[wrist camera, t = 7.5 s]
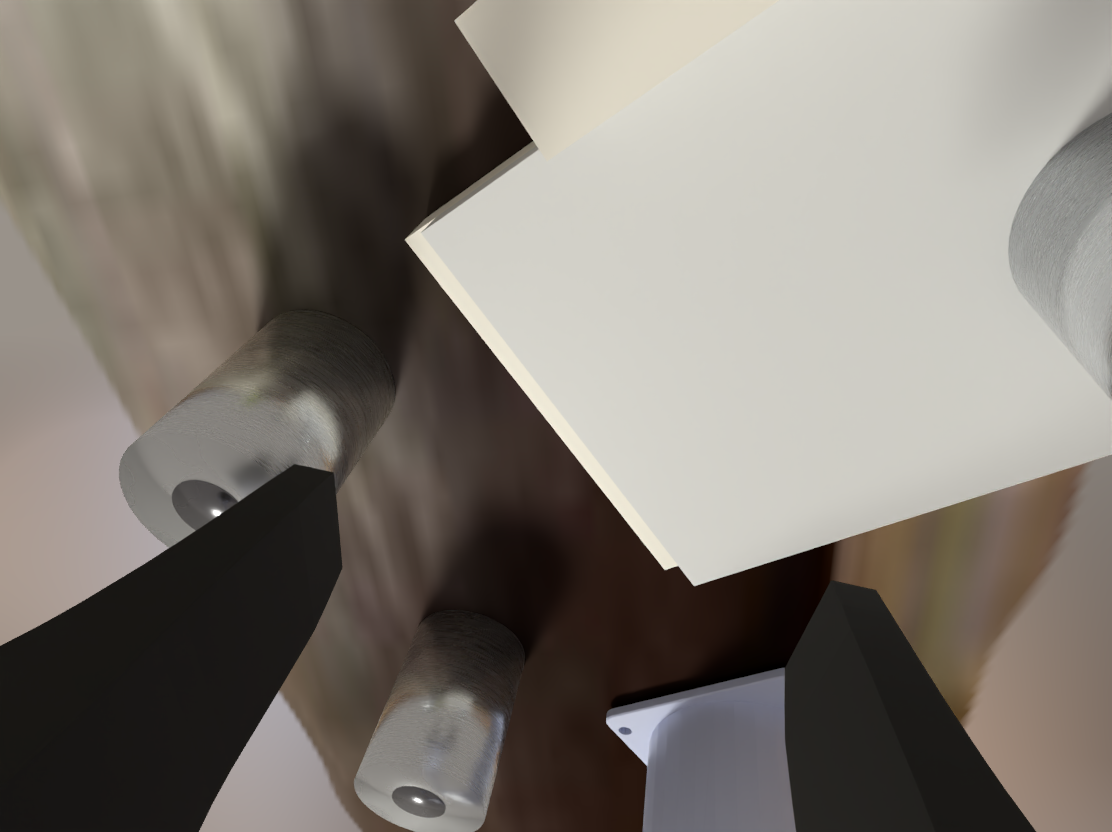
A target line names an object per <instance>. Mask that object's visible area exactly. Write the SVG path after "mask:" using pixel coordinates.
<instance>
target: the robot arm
mask: <svg viewBox="0 0 1112 832" xmlns="http://www.w3.org/2000/svg"><path fill="white" fill-rule="evenodd" d="M341 570H342V558H341V547H340V535H339V524H338V513H337V501H336V490H335V478H334V472H330V471H325V470H320V469H316V468H311V467H307V466H302V465H297V464H294V465H292V466H291V467H289V468H288V469H286V470H285V471H283V472H282V473H280V474H279V475H277V476H275V477H274V478H272V479H271V480H269V481H268V482H267V483H265V484H264V485H262V486H261V487H259V488H258V489H256V490H255V491H253V492H252V493H250V494H249V495H248V496H246V497H245V498H243V499H242V500H240V501H239V502H237V503H236V504H234V505H233V506H231V507H230V508H229V509H227V510H226V511H224V512H223V513H221V514H220V515H218V516H217V517H215V518H214V519H212V520H211V521H209V522H208V523H206V524H205V525H204V526H202V527H200V528H199V529H197V530H196V531H194V532H193V533H191V534H190V535H188V536H187V537H185V538H184V539H182V540H181V541H179V542H178V543H176V544H175V545H173V546H172V547H170V548H169V549H167V550H165V551H164V552H162V553H161V554H159V555H158V556H156V557H155V558H153V559H152V560H150V561H148V562H147V563H145V564H144V565H142V566H140V567H139V568H137V569H135V570H134V571H132V572H131V573H129V574H127V575H126V576H124V577H122V578H121V579H119V580H117V581H116V582H114V583H112V584H111V585H109V586H107V587H106V588H104V589H102V590H101V591H99V592H97V593H96V594H94V595H92V596H91V597H89V598H88V599H86V600H85V601H82V602H81V603H79V604H77V605H76V606H74V607H72V608H70V609H69V610H67V611H65V612H63V613H62V614H60V615H58V616H56V617H54V618H52V619H51V620H49V621H47V622H45V623H43V624H42V625H40V626H38V627H36V628H34V629H32V630H30V631H28V632H27V633H24V634H23V635H21V636H19V637H17V638H15V639H13V640H11V641H9V642H7V643H5V644H3V645H1V646H0V832H199V830H200V828H201V826H202V824H203V822H204V820H205V818H206V816H207V813H208V812H209V809H210V807H211V805H212V803H213V801H214V800H215V798H216V796H217V794H218V792H219V791H220V789H221V787H222V785H223V783H224V782H225V780H226V778H227V776H228V774H229V772H230V771H231V769H232V767H233V766H234V764H235V762H236V761H237V759H238V757H239V756H240V754H241V752H242V751H243V749H244V747H245V746H246V744H247V742H248V741H249V739H250V737H251V736H252V734H253V732H254V731H255V729H256V727H257V726H258V724H259V722H260V721H261V719H262V717H263V716H264V714H265V712H266V711H267V709H268V708H269V706H270V704H271V702H272V701H273V699H274V697H275V696H276V694H277V693H278V691H279V689H280V688H281V686H282V684H283V683H284V681H285V679H286V678H287V676H288V674H289V673H290V671H291V669H292V668H293V666H294V664H295V662H296V661H297V659H298V657H299V656H300V654H301V652H302V651H303V649H304V647H305V646H306V644H307V642H308V640H309V639H310V637H311V635H312V634H313V632H314V630H315V628H316V626H317V624H318V622H319V619H320V617H321V615H322V613H323V611H324V609H325V606H326V604H327V602H328V600H329V598H330V595H331V593H332V591H333V588H334V586H335V584H336V581H337V579H338V577H339V574H340V572H341ZM606 723H607V725H608V726H609V727H610V728H611V729H612V730H613V731H614V732H615V733H616V734H617V735H618V736H619V737H620V738H621V739H622V740H623V741H624V742H625V743H626V744H627V746H628V747H629V748H630V749H631V750H632V751H633V752H634V753H635V754H636V755H637V756H638V757H639V758H640V759H641V760H642V761H643V762H644V763H645V764H646V765H647V780H646V793H645V807H644V820H643V832H1036V831H1035V830H1034V828H1033V827H1032V825H1031V824H1030V823H1029V821H1028V820H1027V819H1026V817H1025V816H1024V815H1023V813H1022V812H1021V810H1020V809H1019V808H1018V806H1017V805H1016V804H1015V802H1014V801H1013V799H1012V798H1011V797H1010V795H1009V794H1008V793H1007V791H1006V790H1005V789H1004V787H1003V786H1002V784H1001V783H1000V782H999V780H998V779H997V777H996V776H995V774H994V773H993V771H992V770H991V768H990V767H989V766H988V764H987V763H986V761H985V760H984V758H983V757H982V755H981V754H980V752H979V751H978V749H977V748H976V746H975V745H974V744H973V742H972V741H971V739H970V737H969V736H968V734H967V733H966V731H965V730H964V728H963V727H962V725H961V724H960V722H959V721H958V719H957V718H956V716H955V715H954V713H953V712H952V710H951V709H950V707H949V706H948V704H947V702H946V701H945V699H944V698H943V696H942V695H941V693H940V692H939V690H938V688H937V687H936V685H935V684H934V682H933V681H932V679H931V677H930V676H929V674H928V673H927V671H926V669H925V668H924V666H923V665H922V663H921V661H920V660H919V658H918V657H917V655H916V653H915V652H914V650H913V649H912V647H911V645H910V644H909V642H908V641H907V639H906V637H905V636H904V634H903V633H902V631H901V629H900V628H899V626H898V624H897V623H896V621H895V620H894V618H893V616H892V615H891V613H890V612H889V610H888V608H887V607H886V605H885V604H884V602H883V600H882V599H881V597H880V596H879V594H878V593H877V591H876V590H873V589H868V588H864V587H859V586H855V585H850V584H845V583H841V582H836V581H832V580H831V582H830V584H829V585H828V587H827V589H826V591H825V593H824V595H823V597H822V599H821V601H820V603H819V604H818V606H817V608H816V610H815V612H814V614H813V616H812V618H811V620H810V622H809V623H808V625H807V627H806V629H805V631H804V633H803V635H802V637H801V639H800V641H799V642H798V644H797V646H796V648H795V650H794V652H793V654H792V656H791V658H790V659H789V661H788V663H787V665H786V667H785V668H779V669H775V670H771V671H767V672H762V673H758V674H754V675H750V676H746V677H742V678H737V679H733V680H729V681H725V682H721V683H717V684H713V685H708V686H704V687H700V688H696V689H692V690H688V691H683V692H679V693H675V694H671V695H667V696H663V697H658V698H654V699H650V700H646V701H642V702H638V703H633V704H629V705H625V706H621V707H617V708H613V709H611V710H609V711H608V712H607V717H606Z"/></svg>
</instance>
